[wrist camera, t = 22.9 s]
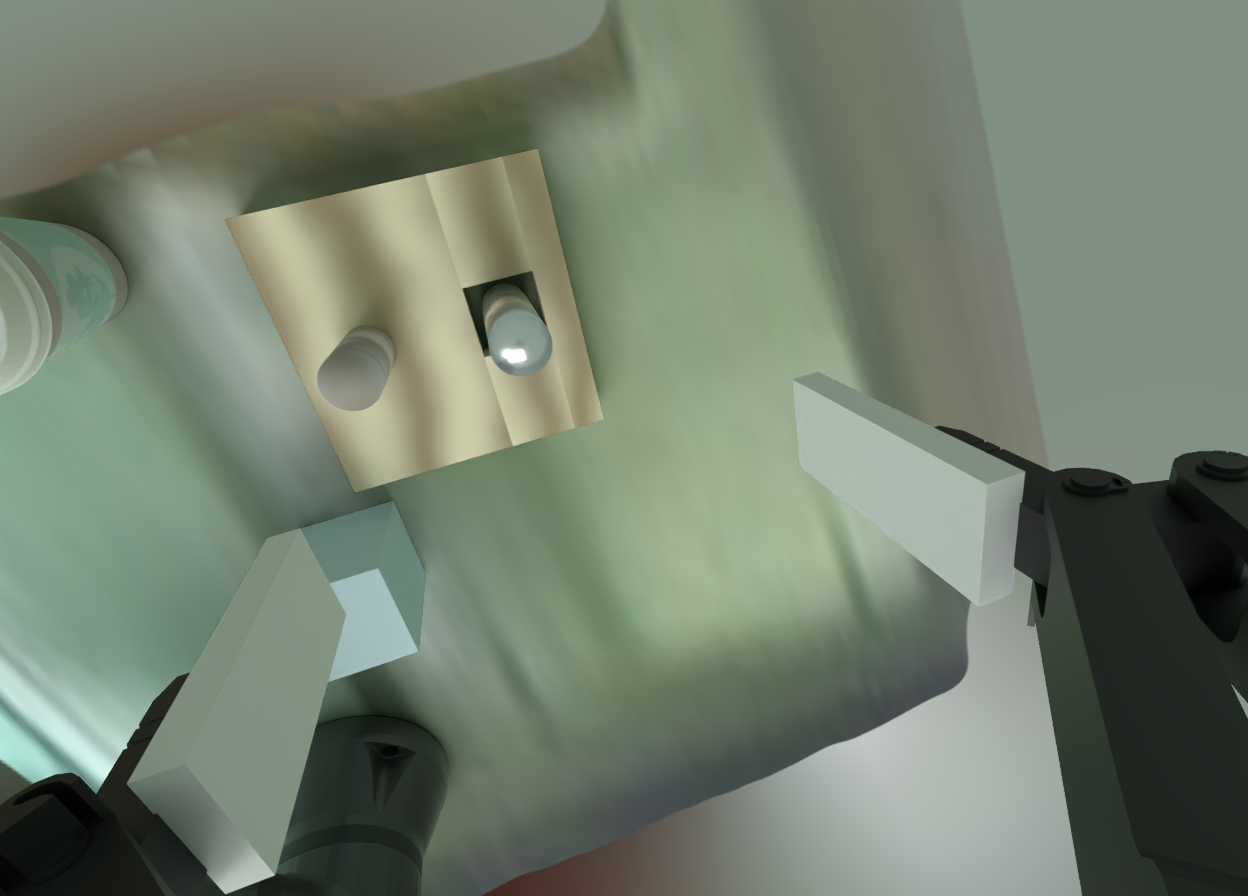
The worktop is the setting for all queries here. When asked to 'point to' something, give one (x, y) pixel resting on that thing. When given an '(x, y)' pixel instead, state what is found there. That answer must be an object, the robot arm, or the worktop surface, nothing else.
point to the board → (420, 315)
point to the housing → (371, 585)
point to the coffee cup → (51, 293)
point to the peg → (515, 331)
